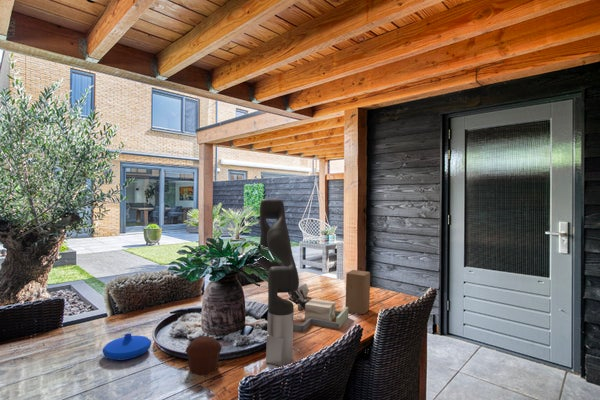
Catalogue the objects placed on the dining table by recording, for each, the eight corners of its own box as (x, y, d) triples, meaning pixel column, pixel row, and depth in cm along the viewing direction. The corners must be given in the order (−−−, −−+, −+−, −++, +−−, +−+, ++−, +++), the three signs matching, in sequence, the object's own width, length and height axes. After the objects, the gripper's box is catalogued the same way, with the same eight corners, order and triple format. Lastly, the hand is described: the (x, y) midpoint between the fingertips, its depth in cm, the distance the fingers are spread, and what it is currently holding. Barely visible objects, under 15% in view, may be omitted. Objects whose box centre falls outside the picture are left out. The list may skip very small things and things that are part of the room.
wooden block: (344, 311, 171) (346, 273, 171) (351, 306, 180) (352, 269, 180) (363, 315, 166) (365, 275, 166) (369, 309, 175) (370, 271, 175)
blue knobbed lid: (139, 340, 132) (139, 323, 131) (159, 353, 122) (159, 334, 121) (95, 354, 119) (95, 335, 119) (113, 370, 109) (113, 348, 109)
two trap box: (331, 337, 139) (331, 325, 139) (275, 326, 149) (275, 315, 149) (353, 311, 172) (353, 301, 172) (306, 303, 183) (306, 294, 183)
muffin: (225, 360, 117) (225, 332, 117) (216, 378, 106) (216, 346, 106) (192, 359, 118) (192, 331, 118) (179, 376, 107) (180, 345, 106)
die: (303, 301, 188) (312, 286, 191) (291, 292, 190) (300, 278, 193) (303, 302, 196) (311, 288, 199) (291, 294, 197) (299, 280, 200)
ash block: (328, 324, 154) (329, 308, 154) (304, 319, 159) (305, 304, 158) (334, 317, 163) (335, 302, 163) (311, 313, 168) (312, 298, 168)
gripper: (284, 279, 160) (307, 308, 156) (295, 273, 172) (316, 300, 168) (274, 288, 162) (296, 317, 158) (285, 282, 175) (306, 309, 170)
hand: (307, 308), depth 163 cm, fingers closed
